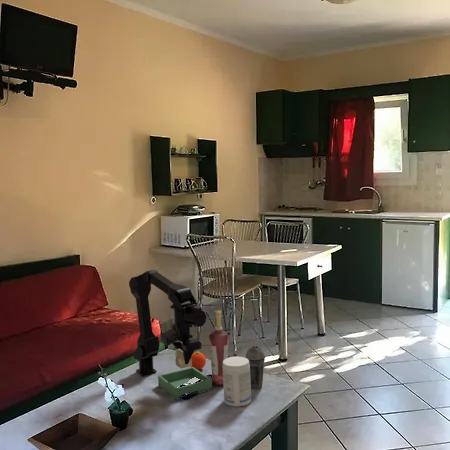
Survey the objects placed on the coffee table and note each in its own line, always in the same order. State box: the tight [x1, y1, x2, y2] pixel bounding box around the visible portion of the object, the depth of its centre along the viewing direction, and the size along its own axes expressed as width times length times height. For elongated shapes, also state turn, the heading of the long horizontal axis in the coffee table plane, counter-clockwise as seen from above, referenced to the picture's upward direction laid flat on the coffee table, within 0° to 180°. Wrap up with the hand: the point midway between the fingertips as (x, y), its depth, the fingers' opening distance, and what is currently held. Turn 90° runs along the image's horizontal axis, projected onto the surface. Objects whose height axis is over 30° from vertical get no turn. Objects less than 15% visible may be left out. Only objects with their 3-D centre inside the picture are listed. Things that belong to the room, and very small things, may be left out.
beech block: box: [174, 348, 192, 370], centre depth 192 cm, size 4×4×6 cm
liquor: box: [208, 310, 229, 386], centre depth 195 cm, size 7×7×28 cm
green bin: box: [157, 366, 213, 401], centre depth 193 cm, size 15×15×4 cm
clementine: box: [190, 350, 207, 371], centre depth 211 cm, size 8×7×7 cm
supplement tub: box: [222, 356, 252, 408], centre depth 180 cm, size 10×10×15 cm
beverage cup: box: [244, 335, 266, 391], centre depth 190 cm, size 7×7×20 cm
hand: (183, 362), depth 192 cm, fingers closed on beech block, 4 cm apart
